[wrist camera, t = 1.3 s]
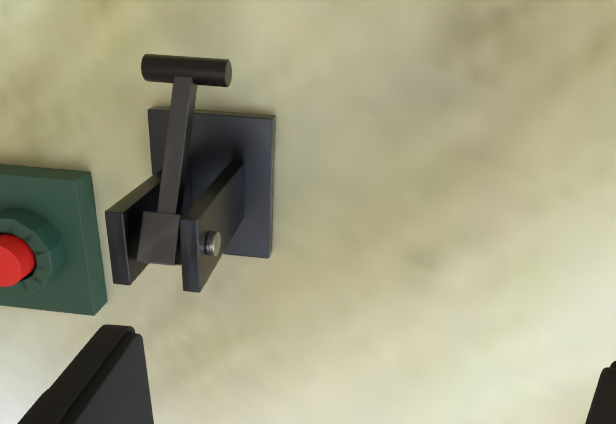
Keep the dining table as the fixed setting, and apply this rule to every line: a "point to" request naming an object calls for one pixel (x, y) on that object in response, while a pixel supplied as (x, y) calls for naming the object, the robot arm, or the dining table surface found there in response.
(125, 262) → the switch bracket
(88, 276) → the button block
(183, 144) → the switch lever
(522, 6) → the dining table surface
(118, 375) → the robot arm
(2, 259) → the red push button
